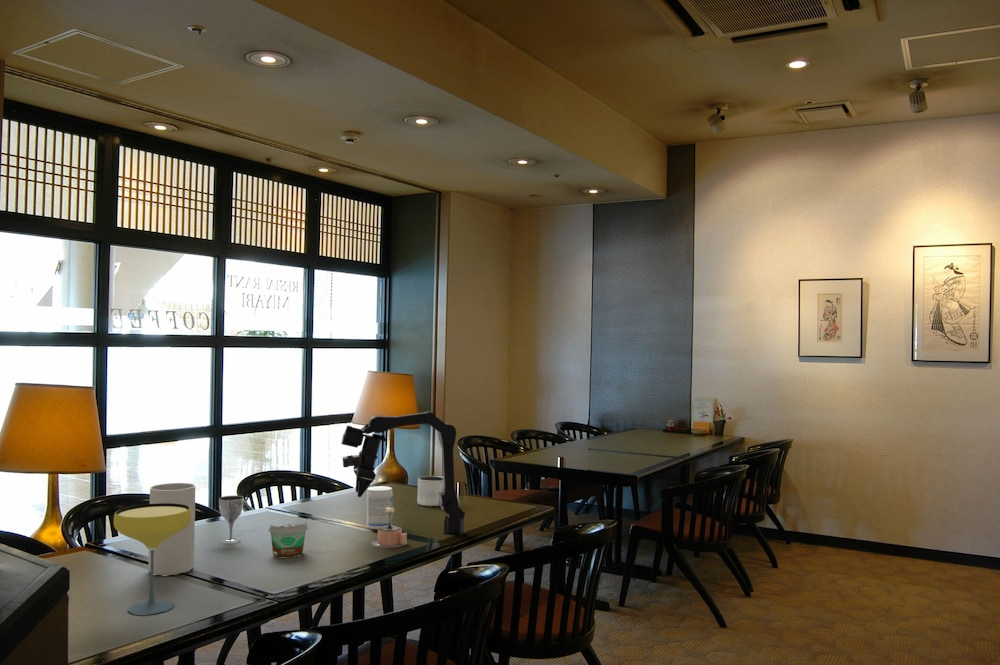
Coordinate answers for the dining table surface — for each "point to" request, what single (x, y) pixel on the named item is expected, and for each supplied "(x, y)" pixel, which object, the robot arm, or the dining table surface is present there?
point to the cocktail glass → (152, 537)
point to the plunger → (389, 516)
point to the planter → (429, 490)
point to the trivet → (386, 546)
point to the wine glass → (231, 510)
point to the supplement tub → (378, 506)
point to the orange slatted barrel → (391, 536)
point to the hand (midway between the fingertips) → (358, 494)
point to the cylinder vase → (179, 547)
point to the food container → (288, 540)
